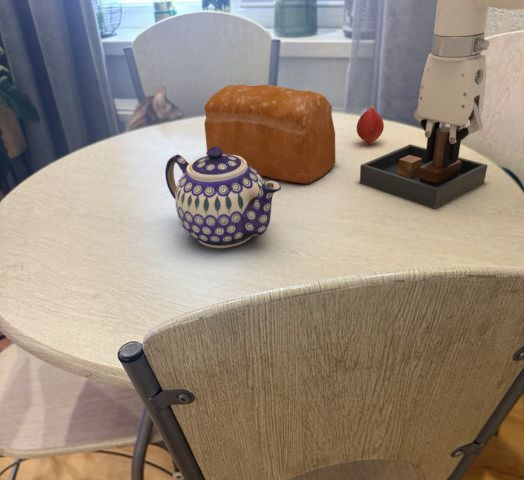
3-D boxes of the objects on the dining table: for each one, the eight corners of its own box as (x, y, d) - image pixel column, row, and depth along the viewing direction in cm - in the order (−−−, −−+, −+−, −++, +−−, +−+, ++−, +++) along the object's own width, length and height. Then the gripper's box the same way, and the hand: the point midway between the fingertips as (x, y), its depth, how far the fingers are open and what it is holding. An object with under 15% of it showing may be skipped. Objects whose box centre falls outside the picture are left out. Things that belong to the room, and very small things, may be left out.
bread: (240, 147, 124) (233, 74, 114) (340, 164, 112) (342, 82, 102) (203, 168, 116) (191, 91, 106) (307, 188, 103) (304, 103, 93)
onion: (354, 148, 118) (355, 110, 113) (358, 139, 122) (359, 102, 117) (380, 148, 117) (383, 110, 112) (383, 139, 121) (386, 102, 116)
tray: (484, 183, 99) (487, 164, 97) (434, 209, 92) (437, 189, 90) (408, 161, 110) (410, 144, 108) (359, 182, 103) (360, 165, 101)
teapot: (146, 232, 94) (126, 148, 85) (208, 201, 102) (195, 121, 93) (249, 275, 80) (238, 180, 71) (310, 236, 88) (308, 146, 79)
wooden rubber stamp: (440, 172, 101) (447, 122, 95) (459, 178, 98) (467, 126, 92) (417, 184, 98) (423, 132, 92) (435, 190, 95) (442, 137, 89)
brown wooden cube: (420, 173, 102) (422, 158, 100) (410, 178, 101) (411, 162, 99) (407, 170, 104) (409, 154, 102) (397, 174, 103) (399, 159, 101)
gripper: (518, 46, 80) (494, 166, 92) (429, 36, 91) (417, 145, 102) (489, 56, 77) (468, 179, 89) (400, 45, 87) (391, 157, 99)
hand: (441, 160), depth 95 cm, fingers closed on wooden rubber stamp, 3 cm apart
